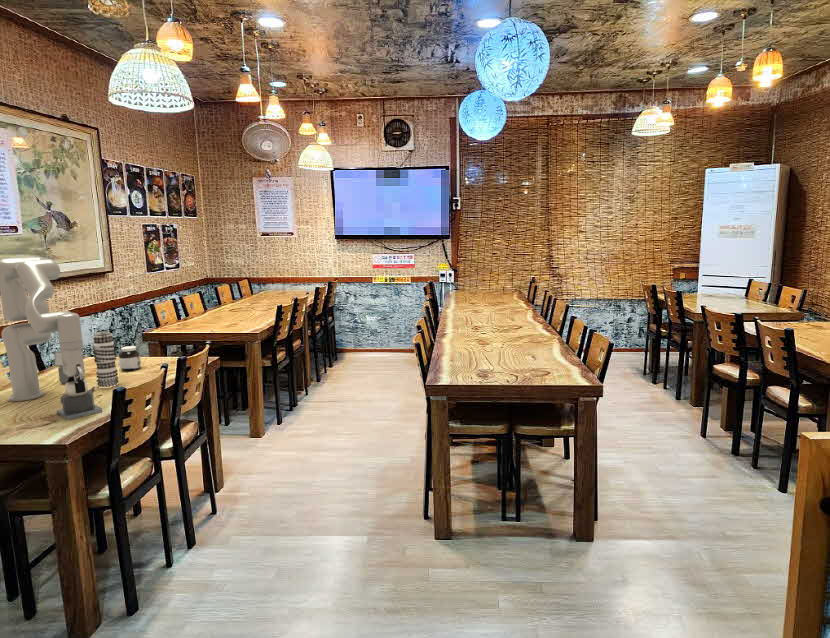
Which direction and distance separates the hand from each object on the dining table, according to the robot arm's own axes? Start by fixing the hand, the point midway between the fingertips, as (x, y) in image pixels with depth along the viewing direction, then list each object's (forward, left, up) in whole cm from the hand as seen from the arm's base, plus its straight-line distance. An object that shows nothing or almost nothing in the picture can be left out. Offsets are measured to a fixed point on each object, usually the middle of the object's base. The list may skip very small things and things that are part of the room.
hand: (77, 390), depth 213 cm
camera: (-56, +15, -9) cm, 59 cm away
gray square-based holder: (0, 0, -9) cm, 9 cm away
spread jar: (-58, +41, -9) cm, 72 cm away
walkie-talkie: (-25, +7, -10) cm, 28 cm away
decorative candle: (-32, +22, -9) cm, 40 cm away
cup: (0, 0, -4) cm, 4 cm away
